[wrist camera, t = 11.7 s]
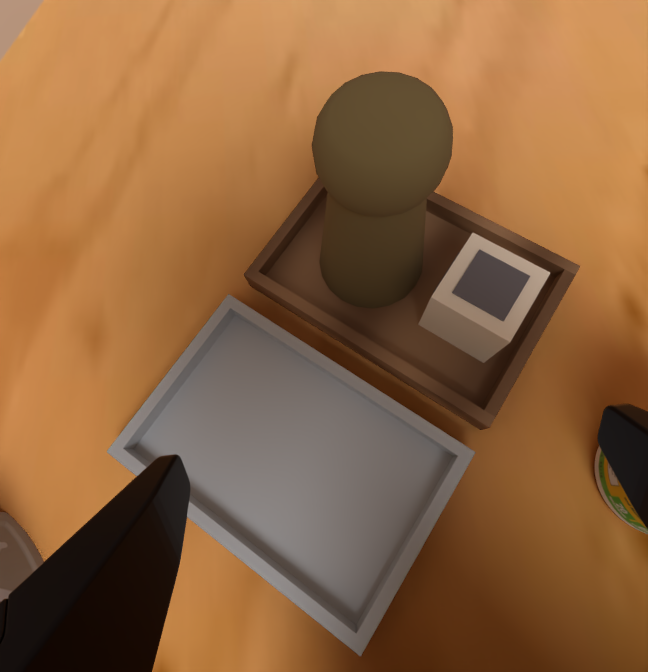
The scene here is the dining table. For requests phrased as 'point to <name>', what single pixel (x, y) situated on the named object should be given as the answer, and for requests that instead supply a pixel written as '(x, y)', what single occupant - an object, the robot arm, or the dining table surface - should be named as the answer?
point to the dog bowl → (15, 555)
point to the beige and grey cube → (483, 298)
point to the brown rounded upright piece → (378, 183)
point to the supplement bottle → (615, 493)
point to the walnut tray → (411, 305)
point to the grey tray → (298, 467)
